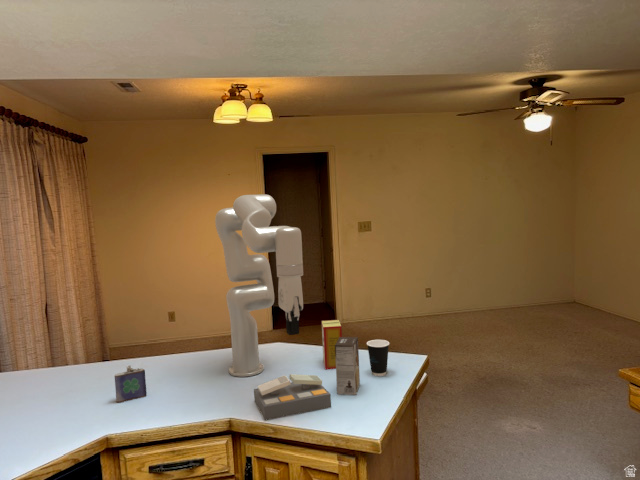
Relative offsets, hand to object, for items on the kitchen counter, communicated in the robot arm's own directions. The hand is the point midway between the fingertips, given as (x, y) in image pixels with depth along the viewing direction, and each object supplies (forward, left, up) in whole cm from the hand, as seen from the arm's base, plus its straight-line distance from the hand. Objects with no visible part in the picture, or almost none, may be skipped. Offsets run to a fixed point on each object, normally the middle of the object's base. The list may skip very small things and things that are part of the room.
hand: (293, 333), depth 136 cm
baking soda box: (-32, +24, -23) cm, 46 cm away
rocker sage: (-6, +5, -17) cm, 18 cm away
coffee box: (-8, +20, -23) cm, 32 cm away
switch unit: (-5, 0, -23) cm, 24 cm away
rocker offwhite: (-6, -5, -17) cm, 18 cm away
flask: (-32, -46, -23) cm, 61 cm away
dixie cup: (-16, +35, -23) cm, 45 cm away
